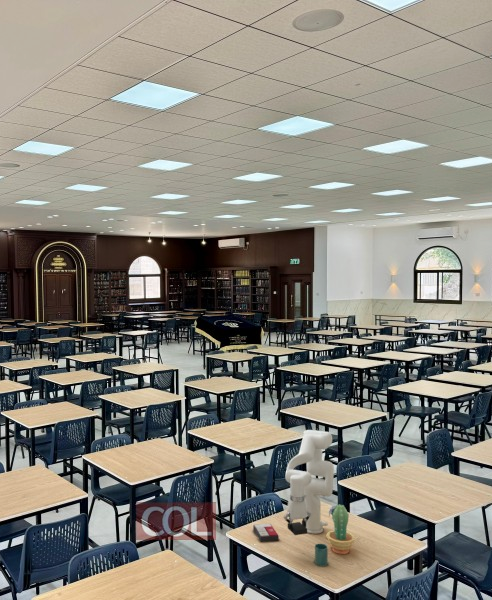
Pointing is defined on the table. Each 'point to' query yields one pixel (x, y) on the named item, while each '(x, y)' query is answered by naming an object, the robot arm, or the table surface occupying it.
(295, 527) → the black box
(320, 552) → the cup
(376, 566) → the table surface
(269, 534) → the calculator
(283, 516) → the robot arm
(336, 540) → the potted cactus
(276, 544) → the table surface
